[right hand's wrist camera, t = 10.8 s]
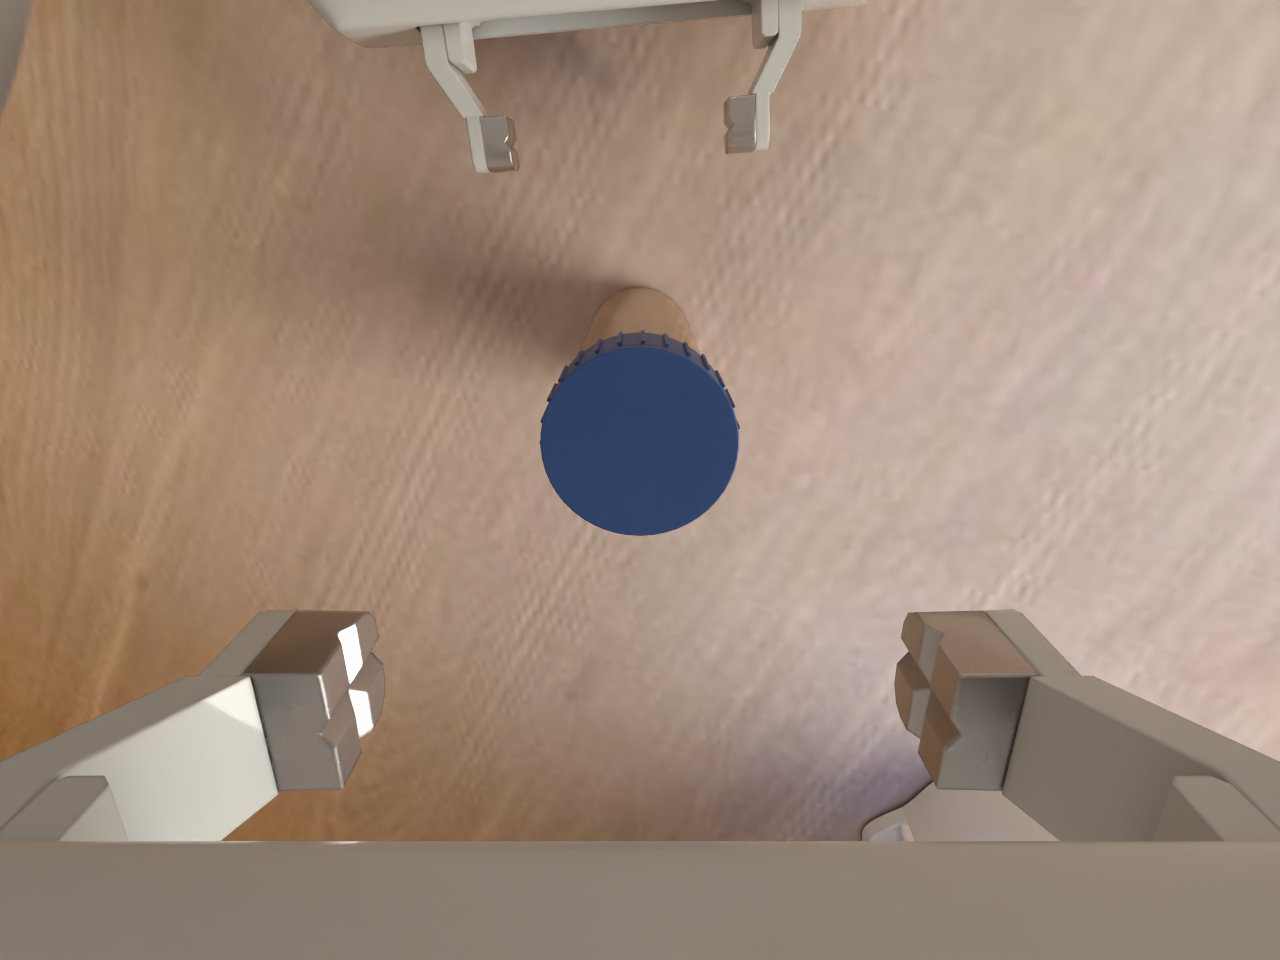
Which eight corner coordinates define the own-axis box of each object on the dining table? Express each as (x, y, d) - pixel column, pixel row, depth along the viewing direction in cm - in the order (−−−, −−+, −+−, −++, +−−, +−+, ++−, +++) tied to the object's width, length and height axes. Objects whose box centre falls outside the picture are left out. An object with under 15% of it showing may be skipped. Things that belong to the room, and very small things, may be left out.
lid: (509, 406, 21) (494, 429, 19) (656, 289, 20) (658, 299, 18) (624, 538, 22) (623, 573, 20) (767, 436, 21) (782, 462, 19)
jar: (569, 330, 34) (513, 427, 19) (648, 265, 33) (656, 314, 18) (631, 406, 36) (625, 553, 21) (710, 347, 35) (763, 455, 20)
